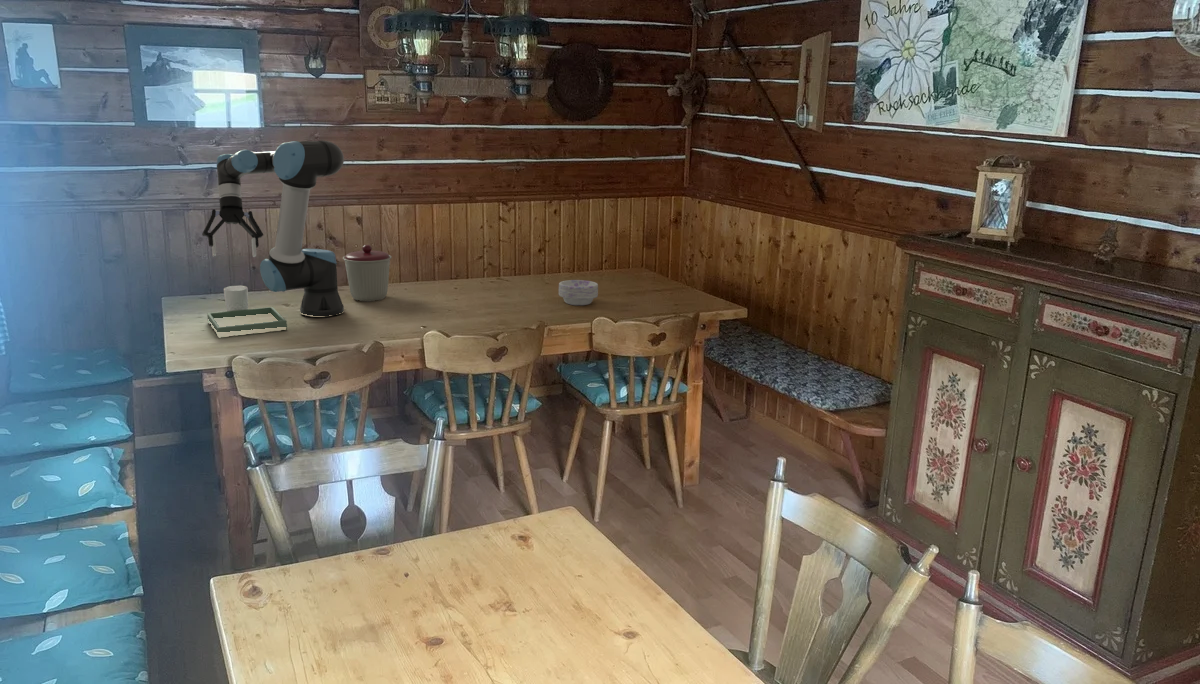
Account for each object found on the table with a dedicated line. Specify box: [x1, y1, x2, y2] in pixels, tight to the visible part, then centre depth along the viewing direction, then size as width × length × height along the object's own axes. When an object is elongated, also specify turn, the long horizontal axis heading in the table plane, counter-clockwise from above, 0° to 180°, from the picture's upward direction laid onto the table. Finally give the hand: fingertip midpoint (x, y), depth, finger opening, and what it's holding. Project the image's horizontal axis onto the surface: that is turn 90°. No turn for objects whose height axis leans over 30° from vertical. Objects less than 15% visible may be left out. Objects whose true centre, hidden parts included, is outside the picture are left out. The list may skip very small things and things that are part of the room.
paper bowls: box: [558, 279, 599, 306], centre depth 355 cm, size 15×15×8 cm
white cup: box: [223, 285, 249, 311], centre depth 325 cm, size 8×8×10 cm
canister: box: [342, 244, 392, 302], centre depth 352 cm, size 18×18×21 cm
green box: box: [206, 306, 288, 332], centre depth 312 cm, size 22×22×4 cm
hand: (234, 255), depth 327 cm, fingers open, 13 cm apart
